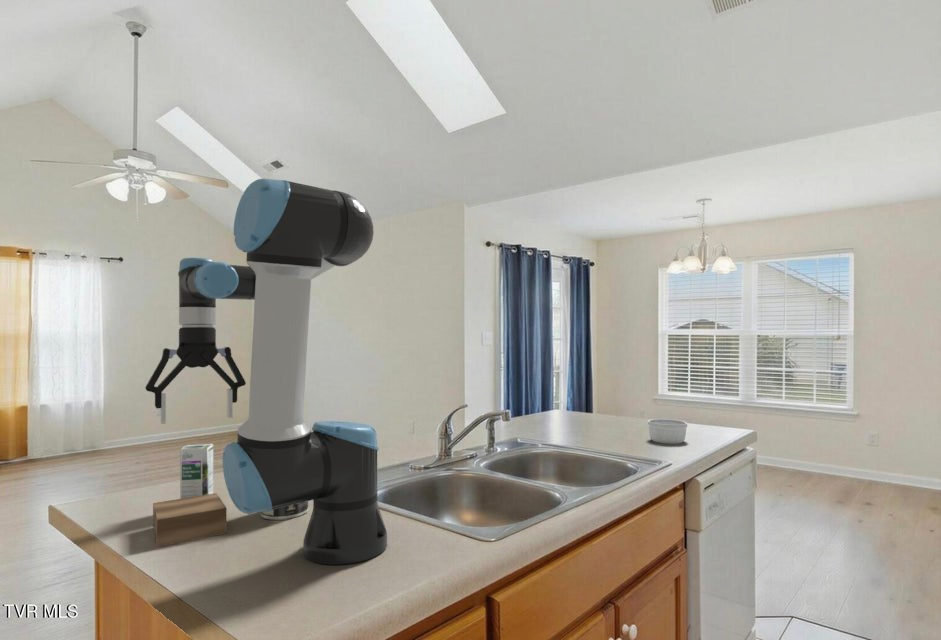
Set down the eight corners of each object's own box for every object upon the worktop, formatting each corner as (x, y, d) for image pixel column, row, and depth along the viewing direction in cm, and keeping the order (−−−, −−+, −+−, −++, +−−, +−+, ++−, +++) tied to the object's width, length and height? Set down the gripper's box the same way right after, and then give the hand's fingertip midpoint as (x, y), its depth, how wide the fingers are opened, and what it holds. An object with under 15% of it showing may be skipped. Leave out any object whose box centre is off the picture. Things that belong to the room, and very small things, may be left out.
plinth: (226, 532, 108) (226, 507, 109) (157, 546, 102) (157, 519, 102) (216, 516, 118) (216, 493, 119) (153, 527, 112) (153, 503, 112)
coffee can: (317, 506, 125) (316, 444, 125) (293, 521, 115) (293, 454, 115) (276, 503, 127) (276, 443, 127) (250, 518, 117) (250, 453, 117)
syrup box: (179, 515, 119) (179, 449, 119) (187, 506, 125) (187, 443, 125) (207, 513, 120) (207, 447, 121) (213, 505, 126) (214, 442, 126)
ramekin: (685, 438, 199) (685, 419, 199) (689, 445, 186) (689, 425, 186) (647, 436, 202) (647, 418, 202) (648, 443, 190) (648, 424, 190)
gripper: (251, 326, 134) (251, 412, 133) (132, 326, 120) (132, 423, 119) (258, 326, 127) (258, 416, 127) (133, 326, 114) (133, 428, 113)
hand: (197, 420), depth 123 cm, fingers open, 13 cm apart
